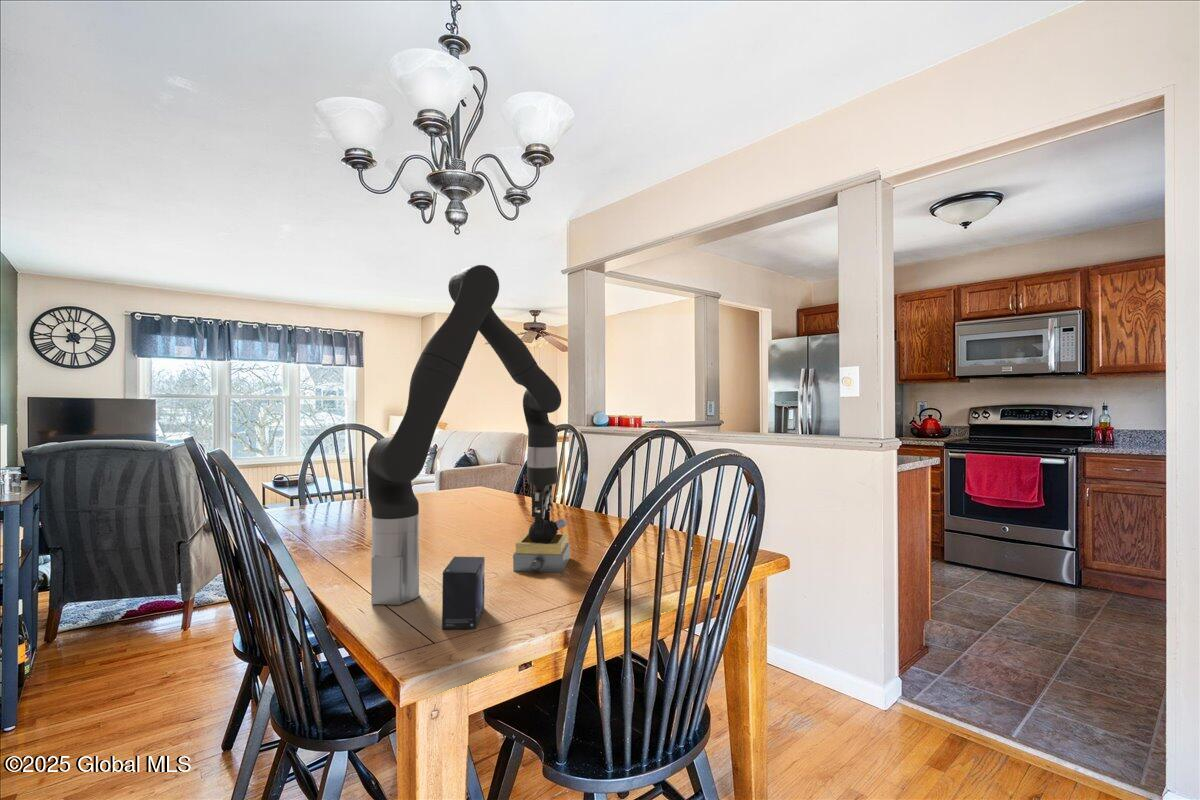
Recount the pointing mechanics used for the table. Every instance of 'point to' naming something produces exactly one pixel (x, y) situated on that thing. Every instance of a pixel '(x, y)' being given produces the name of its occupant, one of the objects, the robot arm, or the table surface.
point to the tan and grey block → (542, 554)
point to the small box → (463, 593)
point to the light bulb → (546, 531)
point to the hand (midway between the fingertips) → (542, 530)
